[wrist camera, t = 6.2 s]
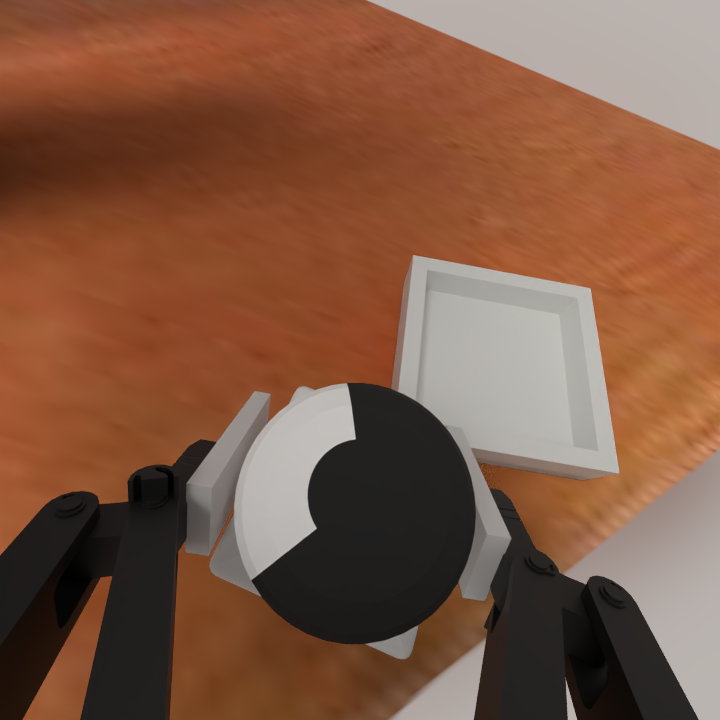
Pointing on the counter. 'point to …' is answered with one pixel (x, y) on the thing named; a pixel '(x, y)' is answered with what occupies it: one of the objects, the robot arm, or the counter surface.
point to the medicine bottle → (351, 516)
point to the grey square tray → (507, 367)
